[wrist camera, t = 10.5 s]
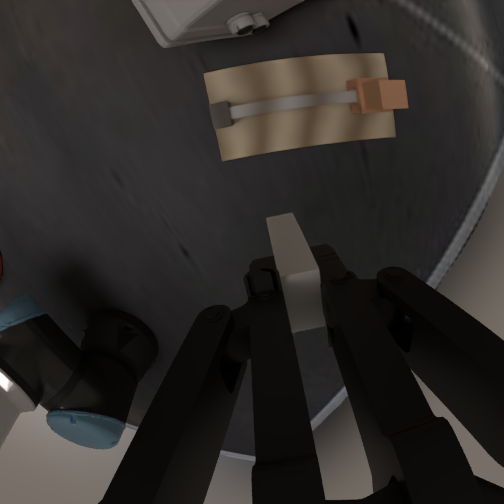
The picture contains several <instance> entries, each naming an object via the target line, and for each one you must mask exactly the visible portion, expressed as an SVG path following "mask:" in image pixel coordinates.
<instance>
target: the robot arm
mask: <svg viewBox="0 0 504 504" xmlns="http://www.w3.org/2000/svg"><path fill="white" fill-rule="evenodd" d="M266 221H267V225H268V230H269V235H270V240H271V245H272V249H273V254H274V256H270V257H265V258H261V259H256V260H253V261H252V263H251V264H250V266H249V268H250V271H249V272H248V273H247V274H246V275H245V276H244V283H245V287H246V291H247V294H248V302H247V303H246V304H244V305H243V306H241V307H239V308H237V309H235V310H232V311H231V310H230V308H229V307H227V306H225V305H214V306H210V307H208V308H206V309H204V310H203V311H201V312H200V313H199V315H198V316H197V318H196V320H195V321H194V323H193V325H192V327H191V329H190V331H189V333H188V334H187V336H186V338H185V340H184V342H183V344H182V346H181V348H180V349H179V351H178V353H177V355H176V357H175V359H174V361H173V363H172V365H171V366H170V368H169V370H168V372H167V374H166V376H165V378H164V380H163V382H162V384H161V385H160V387H159V389H158V391H157V393H156V395H155V397H154V399H153V401H152V403H151V405H150V407H149V408H148V410H147V412H146V414H145V416H144V418H143V420H142V422H141V424H140V426H139V428H138V430H137V432H136V434H135V436H134V438H133V440H132V442H131V443H130V446H129V447H128V449H127V451H126V453H125V455H124V457H123V459H122V461H121V463H120V465H119V467H118V469H117V471H116V473H115V475H114V477H113V479H112V481H111V483H110V485H109V487H108V489H107V491H106V493H105V495H104V497H103V499H102V500H101V501H100V502H99V503H98V504H203V502H204V500H205V497H206V494H207V490H208V488H209V485H210V482H211V479H212V476H213V473H214V470H215V466H216V463H217V460H218V457H219V454H220V451H221V448H222V445H223V442H224V438H225V435H226V432H227V429H228V426H229V422H230V419H231V416H232V413H233V410H234V406H235V403H236V400H237V396H238V393H239V390H240V387H241V383H242V380H243V377H244V373H245V370H246V367H247V360H248V359H250V358H251V369H252V391H253V412H254V433H255V454H256V462H255V465H254V466H253V468H252V503H253V504H504V488H503V487H500V486H498V485H496V484H493V483H491V482H489V481H486V480H484V479H482V478H480V477H478V476H475V475H474V474H473V472H472V470H471V467H470V465H469V463H468V460H467V458H466V456H465V454H464V452H463V449H462V447H461V446H460V443H459V441H458V439H457V437H456V435H455V433H454V431H453V429H452V427H451V425H450V424H449V422H448V420H446V419H445V418H444V417H436V416H435V415H434V414H433V412H432V410H431V408H430V406H429V404H428V402H427V400H426V398H425V396H424V394H423V392H422V390H421V388H420V386H419V385H418V383H417V381H416V379H415V377H414V375H413V373H412V372H411V370H412V371H413V372H414V373H415V374H416V375H417V376H418V377H419V378H420V379H421V380H422V381H423V382H424V383H425V385H427V387H428V388H429V389H430V390H431V391H432V392H433V393H434V394H435V395H436V396H437V397H438V398H439V399H440V401H441V402H442V403H443V404H444V405H445V406H446V407H447V408H448V409H449V410H450V411H451V412H452V414H453V415H454V416H455V417H456V418H457V419H458V420H459V421H460V422H461V423H462V425H463V426H464V427H465V428H466V429H467V430H468V431H469V432H470V433H471V435H472V436H473V437H474V438H475V439H476V440H477V441H478V442H479V444H480V445H481V446H482V447H483V448H484V449H485V450H486V452H487V453H488V454H489V455H490V456H491V457H492V458H493V459H494V460H495V461H496V462H497V463H498V464H500V465H501V466H502V467H504V340H502V339H501V338H500V337H499V336H497V335H496V334H495V333H493V332H492V331H491V330H490V329H488V328H487V327H485V326H484V325H483V324H482V323H480V322H479V321H478V320H476V319H475V318H474V317H472V316H471V315H469V314H468V313H467V312H465V311H464V310H463V309H461V308H460V307H459V306H457V305H456V304H454V303H453V302H452V301H450V300H449V299H448V298H446V297H445V296H443V295H442V294H440V293H439V292H437V291H436V290H435V289H433V288H432V287H430V286H429V285H428V284H426V283H425V282H423V281H422V280H420V279H419V278H417V277H416V276H414V275H413V274H411V273H410V272H408V271H407V270H405V269H403V268H400V267H387V268H384V269H382V270H380V271H379V272H378V273H377V279H371V280H363V279H358V278H357V276H356V275H355V274H354V273H353V272H352V271H349V270H346V269H345V267H344V265H343V264H342V262H341V260H340V259H339V257H338V255H337V254H336V252H335V251H334V249H333V248H332V247H330V246H329V245H327V244H324V245H319V246H314V247H309V246H308V244H307V242H306V240H305V237H304V235H303V233H302V231H301V229H300V227H299V225H298V223H297V221H296V219H295V217H294V215H293V213H287V214H283V215H278V216H273V217H268V218H266ZM407 316H408V317H407ZM325 320H326V322H327V330H328V341H329V347H333V350H334V353H335V356H336V359H337V362H338V365H339V368H340V371H341V374H342V378H343V381H344V384H345V387H346V390H347V393H348V396H349V399H350V403H351V406H352V409H353V412H354V416H355V419H356V422H357V425H358V429H359V432H360V435H361V439H362V442H363V446H364V449H365V452H366V456H367V459H368V463H369V467H370V470H371V474H372V483H373V492H374V493H373V494H371V495H369V496H367V497H366V498H363V499H358V500H325V495H324V489H323V484H322V478H321V473H320V468H319V463H318V458H317V454H316V449H315V444H314V439H313V434H312V428H311V423H310V418H309V413H308V408H307V403H306V398H305V393H304V388H303V383H302V378H301V373H300V369H299V364H298V359H297V354H296V349H295V345H294V340H293V335H292V333H295V332H300V331H304V330H309V329H313V328H318V327H322V326H325ZM157 354H158V345H157V341H156V339H155V337H154V335H153V334H152V332H151V331H150V330H149V329H148V327H147V326H145V325H144V324H143V323H142V322H141V321H139V320H138V319H136V318H135V317H133V316H131V315H129V314H127V313H124V312H121V311H117V310H102V311H98V312H96V313H94V314H93V315H92V316H91V317H90V318H89V320H88V321H87V323H86V325H85V327H84V329H83V339H82V343H81V350H80V349H79V347H78V346H77V345H76V344H75V343H74V342H73V341H72V340H71V339H70V338H69V337H68V336H67V335H66V334H65V333H64V332H63V331H62V330H61V329H60V328H59V326H58V325H57V324H56V323H55V322H54V321H53V320H52V319H51V318H50V316H49V315H48V313H47V312H46V311H44V310H43V309H42V308H41V307H40V306H39V305H38V304H37V303H36V302H35V301H34V299H33V298H31V297H30V296H27V295H23V296H20V297H18V298H17V299H15V300H14V301H12V302H11V303H10V304H8V305H7V306H6V307H5V308H3V309H2V310H1V311H0V448H1V446H2V444H3V443H4V441H5V439H6V437H7V435H8V433H9V432H10V430H11V428H12V426H13V425H14V423H15V421H16V419H17V418H18V416H19V414H20V413H22V412H28V411H34V410H35V409H36V407H37V406H38V404H40V405H41V406H43V407H44V408H45V409H46V410H47V411H48V414H47V415H46V417H47V424H48V425H49V426H50V427H51V429H52V430H53V431H54V432H56V433H57V434H58V435H60V436H62V437H63V438H65V439H67V440H69V441H71V442H73V443H76V444H78V445H82V446H85V447H89V448H93V449H109V448H112V447H114V446H116V445H117V444H118V442H119V440H120V438H121V435H122V433H123V430H124V429H125V423H126V420H127V417H128V413H129V410H130V407H131V404H132V400H133V397H134V394H135V391H136V388H137V385H138V382H139V381H140V380H141V379H142V378H143V376H144V375H145V373H146V372H148V371H149V370H150V369H151V368H152V367H153V365H154V363H155V360H156V357H157Z"/></svg>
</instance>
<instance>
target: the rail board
mask: <svg viewBox="0 0 504 504" xmlns="http://www.w3.org/2000/svg"><path fill="white" fill-rule="evenodd" d="M383 77H388V74H387V68H386V63H385V58H384V53H361V54H334V55H319V56H307V57H297V58H288V59H280V60H273V61H266V62H260V63H254V64H248V65H242V66H237V67H232V68H227V69H222V70H217V71H213V72H209V73H204V79H205V83H206V88H207V93H208V98H209V102H210V104H209V108H210V113H211V118H212V122H213V127H214V130H216V135H217V139H218V144H219V148H220V153H221V158H222V161H226V160H231V159H236V158H241V157H247V156H252V155H257V154H263V153H269V152H275V151H281V150H287V149H293V148H300V147H307V146H314V145H321V144H329V143H337V142H346V141H355V140H365V139H376V138H387V137H396V133H395V124H394V115H393V112H380V113H365V114H360V113H351V109H350V103H349V102H358V101H357V95H356V90H355V91H348V90H347V85H346V81H348V80H352V79H356V78H383Z"/></svg>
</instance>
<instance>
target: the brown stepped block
mask: <svg viewBox="0 0 504 504" xmlns="http://www.w3.org/2000/svg"><path fill="white" fill-rule="evenodd" d="M346 85H347V90H348V91H355V90H356V95H357V101H358V102H349V103H350V109H351V113H360V114H365V113H380V112H393V109H400V108H408V101H407V94H406V87H405V80H388V77H383V78H356V79H352V80H348V81H346Z"/></svg>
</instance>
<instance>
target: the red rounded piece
mask: <svg viewBox="0 0 504 504" xmlns="http://www.w3.org/2000/svg"><path fill="white" fill-rule="evenodd" d="M1 275H2V259H1V254H0V278H1Z"/></svg>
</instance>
